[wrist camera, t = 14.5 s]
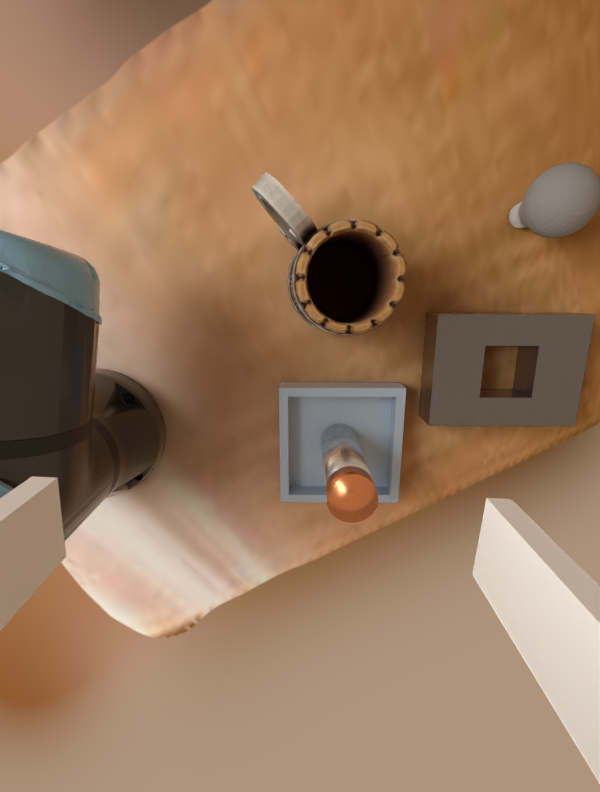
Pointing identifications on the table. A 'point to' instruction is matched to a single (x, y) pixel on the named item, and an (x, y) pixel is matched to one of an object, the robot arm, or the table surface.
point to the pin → (346, 475)
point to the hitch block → (534, 375)
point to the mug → (336, 266)
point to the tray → (339, 404)
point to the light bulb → (559, 201)
